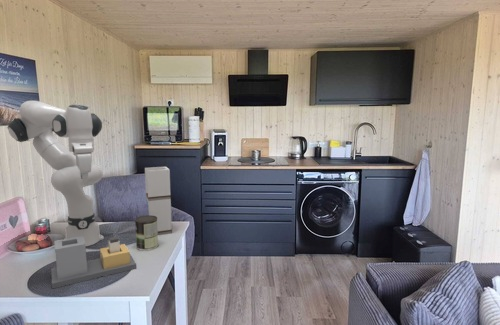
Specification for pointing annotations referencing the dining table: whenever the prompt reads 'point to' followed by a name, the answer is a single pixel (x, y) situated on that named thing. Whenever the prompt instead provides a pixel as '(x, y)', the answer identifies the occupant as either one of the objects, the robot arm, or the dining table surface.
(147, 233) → the coffee can
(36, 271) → the dining table surface
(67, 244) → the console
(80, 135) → the robot arm
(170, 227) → the striped beige pillar
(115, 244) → the plug
